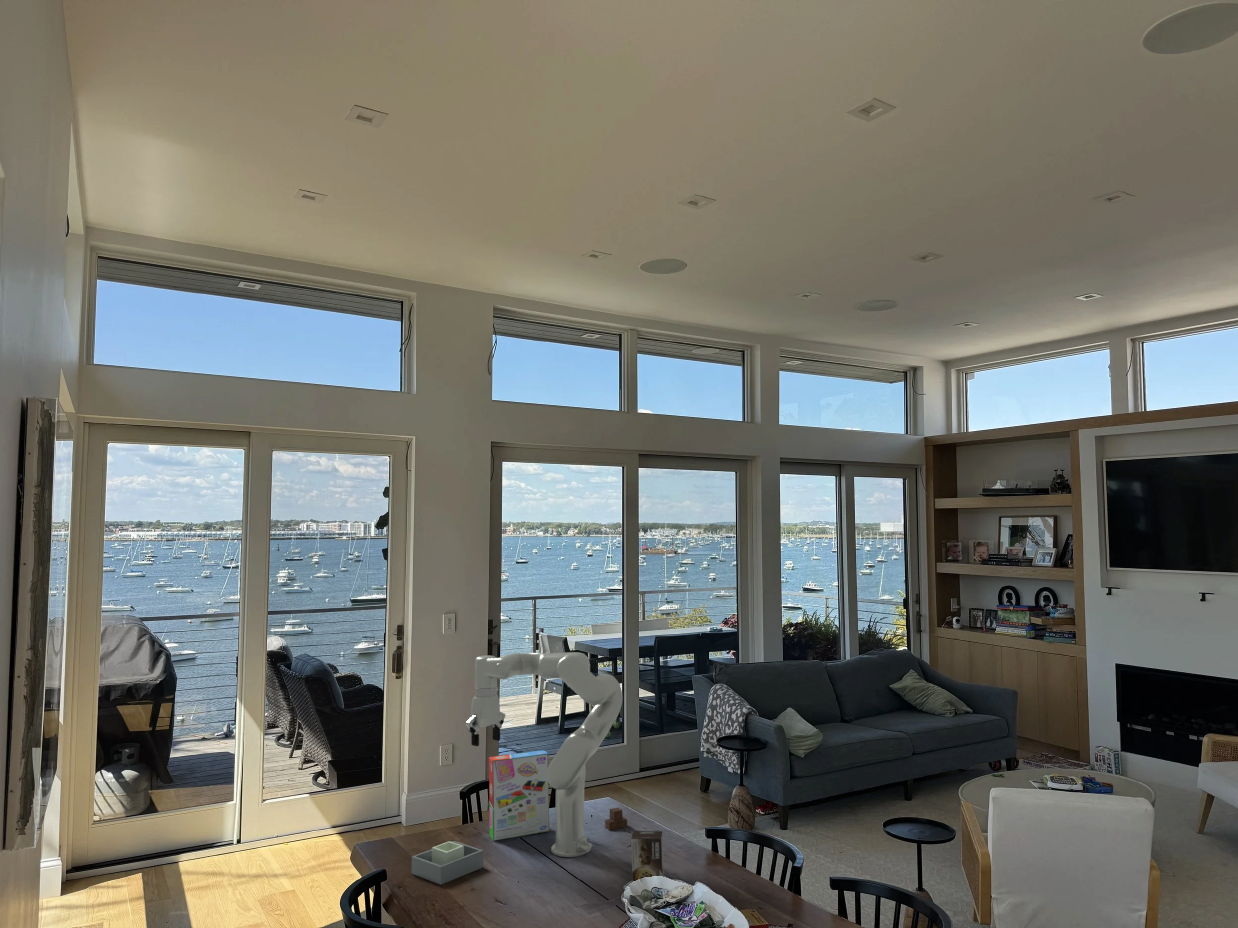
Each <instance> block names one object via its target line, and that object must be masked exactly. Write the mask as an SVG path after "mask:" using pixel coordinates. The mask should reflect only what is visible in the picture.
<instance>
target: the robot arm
mask: <svg viewBox="0 0 1238 928" xmlns="http://www.w3.org/2000/svg"><path fill="white" fill-rule="evenodd" d="M474 667H475V669H474V697H473V698H472V700H471V707H470V708H471V710H470V717H469V718H468V720H467V721H465V726H466V729H467V731H468V732H469V734H471V736H470V737H471V741H470V742H471V743H470V744H471V746H474V747H479V746H480V734H479V732H480V730H481V728H485V727H490V726H492V740H493V741H498V742H499V741H501V729H502V728H503V727H502V726H503V725H504V722H505V718H506V713H504V712H502V711H501V708H500V707H501V706H500V699H499V695H498V691H499V687H498V680H507V679H509V678H513V677H515V676H520V675H523V676H524V675H535V676H539V677H541V678H542V679H543V680H544V679H545V680H546V679H549V680H551V679H561V680H562V681H563V683H565V685H567V686H568V687H569V688H570V689H571V690H572V691H573V692H574V693H575V694H576V695H578V696H579V697H580V698H581V699H582V700H583V701H584V702H585V703H587V704H589V705H592V706H593V707H592V709H591V710H590V712H589V714H588V715H587V717H586V718H585V720H584V721H583V722H582V724H581V726H580V727H579V728H577V729H576V730H575V731H574V732H572V733H570V735H568V736H567V737H566V738H565V740H564V741H563V743H562V744H561V746H560V747H559V748H558V751H557V752H556V754H555V755H554V757H553V759H552V760H551V761H550V763H549V764H548V769H547V781H548V785H549V786H550V787H551V788H553V789H555V843H554V844H552V846H551V847H550V852H551V853H552V854H553V855H554V856H557V857H561V858H575V857H581V856H584V855H585V854H587V853H589V852H590V851H591V849H592V848H593V843H590V842H588V841H587V840H588V838H587V836H585V783H586V771H587V769H586V764H587V762H588V761H589V759H590V758H591V757H592V756H593V755H594V754H596V752H597V751H598V750H599V747H600V746H601V744H602V742H603V741H604V739H605V737H606V736H607V734H608V733H609V731H610V730H611V728H612V727H613V725H614V723H615V721H616V720H617V718H618V716H619V714H620V711H621V709H622V704H623V690H622V687H621V685H620V683H619V681H618V679H616V677H614V676H613V675H612V674H608V673H602V674H599V675H597V676H595V675H594V674H593V672H591V670H590V667H591V663H590V659H589V657H588V656H587V655H586V654H585V653H582V652H578V651H577V652H575V651H574V652H573V651H570V652H524V653H522V652H521V653H520V652H519V653H515V652H514V653H509V654H507V655H506V654H505V655H503V656H500V657H496V656H494V655H480V656H477V657H475V662H474Z"/></svg>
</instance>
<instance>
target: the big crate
mask: <svg viewBox="0 0 1238 928" xmlns="http://www.w3.org/2000/svg"><path fill="white" fill-rule="evenodd" d="M452 842H453V843H456V844H460V845H463V846H464V857H462V858H459V859H457V860H454V861H452V862H449V863H446V864H444V865H438V864H435V863H432V848H431V849H429V850H425V851H423V852H421V853H418V854H415V855H412V856H411V874H412V875H415V876H417V877H419V878H422V879H425V880H427V881H430V882H433V883H435V884H438V885H439V886H441V885H444V884H445V883H449V882H451V881H454V880H456V879H458V878H461V877H463V876H465V875H468V874H470V873H473V872H475V871H477V870H479V869H483V868H484V850H483V849H480V848H477V847H474V846H471V845H468V844H465V843H462V842H459V841H455V840H453V841H452Z"/></svg>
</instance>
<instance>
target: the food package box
mask: <svg viewBox="0 0 1238 928" xmlns="http://www.w3.org/2000/svg"><path fill="white" fill-rule="evenodd" d="M663 836H664V835H663V830H660V831H659V830H656V831H655V830H652V831H651V830H634V831H632V834H631V838H630V843H631V875H632V878H631V879H632V880H631V882H633V881H636V880H638V879H641V878H644V877H652V876H663V877H664V876H665V875H664V843H663V842H664V840H663ZM664 878H665V877H664Z"/></svg>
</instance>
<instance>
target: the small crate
mask: <svg viewBox="0 0 1238 928" xmlns="http://www.w3.org/2000/svg"><path fill="white" fill-rule="evenodd" d="M431 849H432V863H435V864H438V865H444V864H446V863H449V862H452V861H454V860H457V859H459V858H462V857H464V846H463V845H460V844H456V843H453V841H450V840H449V841H446V842H444V843H441V844H438V845H436V846H432V847H431Z"/></svg>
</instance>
